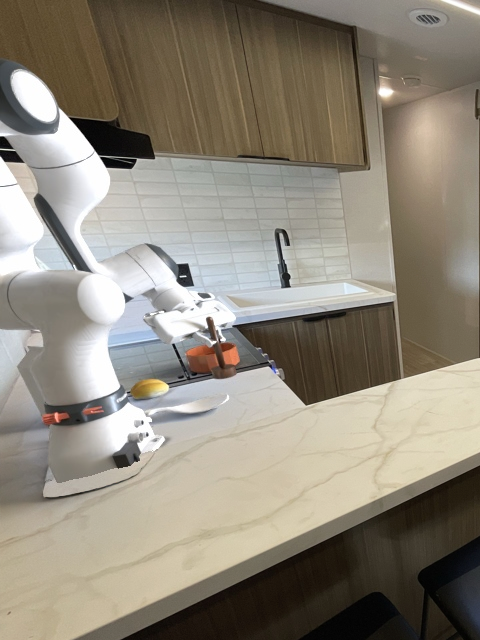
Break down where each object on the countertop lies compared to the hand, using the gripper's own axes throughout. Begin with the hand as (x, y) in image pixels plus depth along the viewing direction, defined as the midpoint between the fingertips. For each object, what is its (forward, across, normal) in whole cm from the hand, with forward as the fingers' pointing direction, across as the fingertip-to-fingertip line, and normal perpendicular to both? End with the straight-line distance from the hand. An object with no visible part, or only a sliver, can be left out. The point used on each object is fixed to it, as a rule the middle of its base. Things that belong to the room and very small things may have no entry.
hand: (218, 343), depth 109 cm
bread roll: (-6, -5, +27) cm, 28 cm away
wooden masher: (+6, 0, +7) cm, 9 cm away
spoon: (+7, -18, +15) cm, 24 cm away
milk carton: (-10, -21, +32) cm, 39 cm away
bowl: (-7, +17, +28) cm, 34 cm away
